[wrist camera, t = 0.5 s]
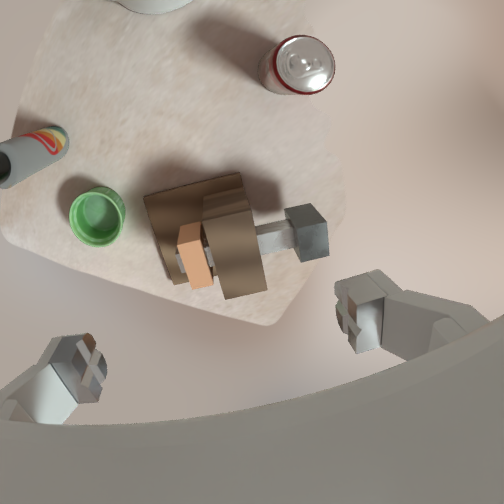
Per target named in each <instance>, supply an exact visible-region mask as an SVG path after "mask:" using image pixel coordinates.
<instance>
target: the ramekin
mask: <svg viewBox="0 0 504 504" xmlns="http://www.w3.org/2000/svg"><path fill="white" fill-rule="evenodd" d="M124 219H125V206H124V203H123V201H122V199H121V198H120V196H119V195H118V194H117V193H116V192H115V191H113V190H111V189H109V188H106V187H96V188H93V189H91V190H89V191H88V192H85V193H83V194H81V195H79V196H78V197H77V198H76V199H75V200H74V201H73V203H72V205H71V207H70V211H69V222H70V226H71V229H72V231H73V233H74V234H75V236H76V237H77V238H78V239H79V240H80V241H82V242H83V243H85V244H87V245H89V246H92V247H105V246H108V245H110V244H112V243H113V242H114V241H115V240H116V239H117V238H118V237H119V235H120V233H121V230H122V226H123V222H124Z"/></svg>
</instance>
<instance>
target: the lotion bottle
mask: <svg viewBox="0 0 504 504" xmlns="http://www.w3.org/2000/svg"><path fill="white" fill-rule="evenodd" d="M68 148H69V137H68V134H67V133H66V131H65V130H64V129H63V128H61V127H59V126H51V127H47V128H44V129H40V130H37V131H34V132H30V133H27V134H24V135H21V136H18V137H15V138H12V139H9V140H7V141H4V142H1V143H0V188H1V189H8V188H10V187H12V186H14V185H16V184H17V183H19V182H21V181H22V180H24V179H26V178H27V177H29V176H31V175H33V174H34V173H36V172H38V171H40V170H41V169H43V168H45V167H47V166H49V165H50V164H52V163H54V162H56V161H58V160H59V159H61V158H62V157H63V156H64V155H65V154H66V152H67V150H68Z"/></svg>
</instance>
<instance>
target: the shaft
mask: <svg viewBox="0 0 504 504" xmlns="http://www.w3.org/2000/svg"><path fill="white" fill-rule="evenodd" d="M284 211H285V217H286V219H285V220H281V221H276V222H272V223H267V224H263V225H259V226H255V230H256V235H257V240H258V245H259V250H260V255H264V254H268V253H273V252H277V251H281V250H286V249H290V248H294V250H295V252H296V254H297V256H298V258H299V260H300V262H305V261H309V260H314V259H318V258H322V257H326V256H329V243H328V230H327V222H326V220H325V219H324V218H323V217H322V216H321V215H320V213H319V212H318V211H317V210H316V209H315V208H314V207H313V205H312V204H311V203H309V204H305V205H300V206H295V207H290V208H286V209H284ZM202 243H203V247H204V250H205V253H206V257H207V260H208V263H209V267H212V266H215V264H214V261H213V257H212V254H211V251H210V247H209V244H208V240H207V238H203V240H202ZM175 256H176V259H177V262H178V264H179V267H180V270H181V273H185V272H186V270H185V268H184V265H183V262H182V259H181V256H180V253H179V250H178V247H176V253H175Z"/></svg>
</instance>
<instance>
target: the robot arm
mask: <svg viewBox="0 0 504 504" xmlns="http://www.w3.org/2000/svg"><path fill="white" fill-rule="evenodd" d="M110 1H116V2H118V3H120V4H121V5H123V6H124V7H126V8H127V9H129V10H131V11H134V12H137V13H142V14H160V13H165V12H169V11H173V10H175V9H178V8H180V7H182V6H184V5H186V4H188V3H189V2H191V1H192V0H110ZM334 288H335V295H336V296H337V298H338V299H339V300H338V302H337V304H336V316H337V320H338V324H339V326H340V328H341V330H342V332H343V333H345V334H348V342H349V343H350V345H351V346H352V348H353V349H354V351H355V353H356V354H358V353H362V352H365V351H369V350H372V349H375V348H378V347H381V348H383V349H385V350H387V351H389V352H391V353H393V354H395V355H397V356H399V357H401V358H402V359H404V360H406V361H407V362H404V363H402V364H399V365H397V366H394V367H392V368H389V369H386V370H384V371H381V372H378V373H375V374H373V375H370V376H367V377H364V378H361V379H358V380H355V381H352V382H349V383H346V384H343V385H340V386H336V387H333V388H330V389H326V390H323V391H319V392H316V393H313V394H309V395H305V396H301V397H297V398H293V399H290V400H285V401H281V402H277V403H273V404H268V405H264V406H259V407H254V408H249V409H244V410H239V411H233V412H228V413H222V414H216V415H209V416H202V417H196V418H188V419H180V420H171V421H160V422H149V423H136V424H135V423H134V424H112V425H65V424H63V422H64V421H65V420H66V419H67V418H68V416H69V415H70V414H71V413H72V412H73V410H74V409H75V408H76V407H77V406H78V404H80V403H95V402H98V401H99V397H100V394H101V391H102V387H101V385H100V384H101V383H102V382H103V381H104V380H105V379H106V375H107V364H106V361H105V358H104V357H103V354H102V353H101V352H100V351H98V350H97V349H95V347H96V342H95V340H94V338H93V336H92V335H91V334H89V333H84V334H75V335H67V336H60V337H55V338H52V339H51V341H50V343H49V345H48V346H47V348H46V349H45V351H44V353H43V354H42V356H41V358H40V359H39V361H38V363H37V364H36V365H33V366H31V367H30V368H29V369H28V370H26V371H25V372H23V373H22V374H21V375H19V376H18V377H17V378H16V379H14V380H13V381H12V382H10V383H9V384H8V385H6V386H5V387H4V388H3V389H1V390H0V504H504V314H503V315H502V316H500V317H498V318H496V319H495V320H493V321H491V322H490V321H489V320H487V319H486V318H485V317H484V316H483V315H481V314H480V313H479V312H478V311H477V310H476V309H474V308H473V307H472V306H471V305H467V304H463V303H459V302H455V301H450V300H447V299H443V298H439V297H435V296H431V295H427V294H422V293H418V292H414V291H410V290H405V291H403V290H402V289H401V288H399V287H398V286H397V285H396V284H395V283H394V282H393V281H392V280H391V279H390V278H389V277H387V276H386V275H385V274H384V273H383V272H382V271H381V270H378V269H376V270H373V271H370V272H367V273H364V274H360V275H357V276H354V277H350V278H347V279H343V280H340V281H337V282H335V286H334Z"/></svg>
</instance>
